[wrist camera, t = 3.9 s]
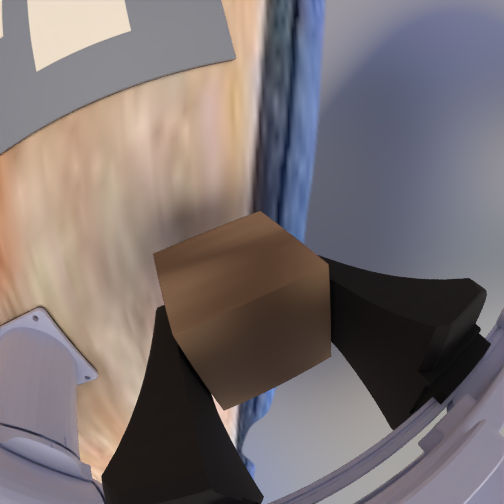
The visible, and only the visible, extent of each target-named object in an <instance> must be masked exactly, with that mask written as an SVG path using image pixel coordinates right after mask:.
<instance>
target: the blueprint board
mask: <svg viewBox="0 0 504 504" xmlns="http://www.w3.org/2000/svg"><path fill="white" fill-rule="evenodd" d="M234 59H236V57H235V53H234V49H233V45H232V41H231V37H230V33H229V29H228V25H227V21H226V17H225V13H224V9H223V6H222V2H221V0H0V155H1V154H2V153H4V152H5V151H7V150H8V149H10V148H11V147H13V146H14V145H16V144H17V143H19V142H20V141H22V140H23V139H25V138H27V137H28V136H30V135H32V134H33V133H35V132H37V131H38V130H40V129H42V128H44V127H45V126H47V125H49V124H51V123H52V122H54V121H56V120H58V119H60V118H62V117H64V116H66V115H68V114H70V113H72V112H74V111H76V110H78V109H80V108H82V107H84V106H86V105H89V104H91V103H93V102H95V101H98V100H100V99H102V98H105V97H107V96H110V95H112V94H115V93H117V92H120V91H122V90H125V89H128V88H130V87H133V86H136V85H139V84H142V83H145V82H148V81H151V80H154V79H157V78H161V77H164V76H167V75H171V74H174V73H178V72H182V71H186V70H189V69H194V68H198V67H202V66H207V65H211V64H216V63H221V62H226V61H232V60H234Z"/></svg>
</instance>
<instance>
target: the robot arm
mask: <svg viewBox="0 0 504 504" xmlns="http://www.w3.org/2000/svg"><path fill="white" fill-rule="evenodd" d="M318 256H319V255H318ZM319 257H320V258H321V259H322V260H324V261H325V262H326V263H327V264H329V283H330V311H331V342H332V343H333V344H334V345H335V346H336V347H337V348H338V350H339V351H340V352H341V353H342V354H343V356H344V357H345V358H346V360H347V361H348V362H349V364H350V365H351V366H352V368H353V369H354V370H355V372H356V373H357V375H358V376H359V378H360V379H361V380H362V382H363V383H364V385H365V386H366V388H367V389H368V391H369V392H370V394H371V395H372V397H373V398H374V400H375V401H376V403H377V405H378V406H379V408H380V410H381V411H382V413H383V415H384V416H385V418H386V420H387V422H388V423H389V425H390V427H391V428H392V429H393V430H394V431H392V432H391V433H390V434H389V435H387V436H386V437H385V438H383V439H382V440H381V441H379V442H378V443H377V444H375V445H374V446H372V447H371V448H369V449H368V450H367V451H365V452H364V453H362V454H361V455H359V456H358V457H356V458H355V459H353V460H352V461H350V462H349V463H347V464H345V465H344V466H342V467H340V468H339V469H337V470H335V471H333V472H332V473H330V474H328V475H327V476H325V477H323V478H321V479H319V480H317V481H316V482H314V483H312V484H310V485H308V486H306V487H304V488H302V489H300V490H298V491H296V492H294V493H292V494H289V495H287V496H285V497H283V498H281V499H278V500H276V501H273V502H271V503H269V504H315V503H318V502H319V501H321V500H323V499H325V498H327V497H329V496H331V495H332V494H334V493H336V492H338V491H339V490H341V489H343V488H345V487H346V486H348V485H349V484H351V483H353V482H354V481H356V480H357V479H359V478H361V477H362V476H363V475H365V474H367V473H368V472H370V471H371V470H372V469H374V468H375V467H377V466H378V465H380V464H381V463H382V462H384V461H385V460H386V459H388V458H389V457H390V456H392V455H393V454H394V453H396V452H397V451H398V450H399V449H401V448H402V447H403V446H404V445H406V443H408V442H409V441H410V440H411V439H413V438H414V437H415V436H416V435H417V434H418V433H420V432H421V431H422V430H423V429H424V428H425V427H426V426H427V425H428V424H429V423H431V421H433V420H434V419H435V418H436V417H437V416H438V415H439V414H440V413H441V412H442V411H443V410H444V409H445V407H447V414H446V415H445V416H444V417H443V418H442V419H441V420H440V421H439V422H438V423H437V424H436V425H435V426H434V427H433V428H432V430H431V431H430V432H429V433H428V434H427V435H426V436H425V437H424V438H422V439H421V440H420V441H419V443H418V445H419V446H420V447H421V448H422V449H423V451H424V452H423V453H422V454H421V455H420V456H419V457H418V458H417V459H415V460H414V461H413V462H412V463H411V464H409V465H408V466H407V467H405V469H403V470H402V471H400V472H399V473H398V474H396V475H395V476H394V477H392V478H391V479H390V480H388V481H387V482H386V483H384V484H383V485H381V486H380V487H379V488H377V489H375V490H374V491H373V492H371V493H370V494H368V495H366V496H365V497H363V498H362V499H360V500H359V501H357V502H355V503H354V504H504V437H503V436H502V435H501V434H500V431H501V430H502V428H503V426H504V308H503V310H502V312H501V314H500V316H499V317H498V320H497V322H496V324H495V326H494V327H493V329H492V330H491V331H490V333H489V334H488V335H487V337H486V338H484V337H482V336H481V335H480V334H479V332H480V330H481V329H480V327H479V326H477V325H476V324H475V323H476V321H477V319H478V317H479V315H480V312H481V310H482V308H483V305H484V303H485V300H486V296H487V294H486V290H485V289H484V288H483V287H481V286H480V285H478V284H477V283H475V282H474V281H473V280H471V279H469V278H464V279H447V280H438V279H436V280H435V279H416V278H406V277H398V276H391V275H386V274H381V273H376V272H371V271H367V270H364V269H360V268H356V267H352V266H349V265H346V264H343V263H339V262H336V261H333V260H330V259H328V258H325V257H321V256H319ZM34 316H37V317H38V318H35V317H34ZM97 377H98V373H97V371H96V370H95V369H94V368H93V367H92V366H91V365H90V364H89V363H88V362H87V361H86V359H85V358H84V357H83V356H82V355H81V354H80V353H79V352H78V351H77V349H76V348H75V347H74V346H73V345H72V344H71V342H70V341H69V340H68V339H67V338H66V336H65V335H64V334H63V333H62V331H61V330H60V329H59V328H58V326H57V325H56V324H55V322H54V321H53V320H52V319H51V317H50V316H49V315H48V313H47V312H46V311H45V310H44V309H43V308H36V309H34V310H32V311H30V312H28V313H26V314H24V315H22V316H20V317H18V318H16V319H14V320H12V321H10V322H8V323H6V324H4V325H2V326H0V504H261V503H262V500H263V498H264V496H263V495H262V493H261V492H260V490H259V489H258V487H257V485H256V483H255V482H254V480H253V479H252V477H251V475H250V474H249V472H248V470H247V468H246V467H245V465H244V463H243V461H242V460H241V458H240V456H239V454H238V452H237V450H236V449H235V447H234V445H233V443H232V441H231V439H230V437H229V435H228V433H227V431H226V429H225V427H224V425H223V423H222V421H221V419H220V416H219V414H218V412H217V409H216V406H215V404H214V401H213V398H212V395H211V392H210V391H209V389H208V388H207V387H206V385H205V384H204V382H203V381H202V379H201V378H200V376H199V375H198V373H197V372H196V371H195V369H194V368H193V366H192V365H191V363H190V362H189V360H188V358H187V357H186V355H185V354H184V352H183V351H182V349H181V348H180V346H179V344H178V343H177V341H176V340H175V338H174V336H173V334H172V330H171V327H170V323H169V319H168V315H167V312H166V308H165V305H163V306H161V307H158V308H157V310H156V316H155V325H154V332H153V338H152V344H151V350H150V355H149V359H148V364H147V368H146V373H145V377H144V380H143V384H142V387H141V391H140V394H139V397H138V400H137V403H136V406H135V408H134V411H133V414H132V417H131V419H130V422H129V424H128V426H127V429H126V431H125V433H124V435H123V437H122V439H121V442H120V444H119V446H118V448H117V450H116V452H115V454H114V455H113V457H112V459H111V461H110V462H109V464H108V466H107V467H106V469H105V471H104V473H103V474H102V476H101V477H102V484H101V483H100V482H98V481H97V480H95V479H93V478H92V474H91V467H90V465H87V464H85V463H83V462H81V461H80V454H79V443H78V429H77V385H80V384H83V383H85V382H88V381H91V380H94V379H96V378H97Z"/></svg>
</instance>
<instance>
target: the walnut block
mask: <svg viewBox="0 0 504 504" xmlns="http://www.w3.org/2000/svg"><path fill="white" fill-rule="evenodd" d="M153 256H154V261H155V265H156V270H157V274H158V279H159V283H160V287H161V292H162V296H163V300H164V304H165V308H166V312H167V315H168V319H169V323H170V327H171V330H172V334H173V336H174V338H175V340H176V341H177V343H178V344H179V346H180V348H181V349H182V351H183V352H184V354H185V355H186V357H187V358H188V360H189V362H190V363H191V365H192V366H193V368H194V369H195V371H196V372H197V373H198V375H199V376H200V378H201V379H202V381H203V382H204V384H205V385H206V387H207V388H208V389H209V391H210V392H211V394H212V395H213V396H214V398H215V399H216V400H217V402H218V403H219V405H220V406H221V407H222V409H223V410H227V409H229V408H231V407H234V406H236V405H238V404H240V403H243V402H245V401H247V400H249V399H251V398H254V397H256V396H258V395H260V394H262V393H264V392H266V391H268V390H270V389H272V388H274V387H276V386H278V385H280V384H282V383H284V382H286V381H288V380H290V379H292V378H294V377H296V376H297V375H299V374H301V373H303V372H305V371H307V370H308V369H310V368H312V367H314V366H315V365H317V364H319V363H321V362H323V361H324V360H326V359H328V358H329V357H331V311H330V283H329V264H327V263H326V262H325V261H324V260H322V259H321V258H320V257H319V256H318V255H316V254H315V253H314V252H312V251H311V250H310V249H309V248H307V247H306V246H305V245H304V244H302V243H301V242H300V241H299V240H297V239H296V238H295V237H294V236H292V235H291V234H290V233H288V232H287V231H286V230H285V229H283V228H282V227H281V226H279V225H278V224H277V223H275V222H274V221H273V220H272V219H270V218H269V217H268V216H266V215H265V214H264V213H262V212H261V211H259V212H256V213H253V214H251V215H248V216H245V217H243V218H240V219H238V220H235V221H233V222H230V223H228V224H225V225H222V226H220V227H217V228H215V229H212V230H210V231H207V232H205V233H202V234H200V235H198V236H195V237H193V238H190V239H188V240H185V241H183V242H180V243H178V244H176V245H173V246H171V247H168V248H166V249H164V250H161V251H159V252H157V253H154V254H153Z"/></svg>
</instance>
